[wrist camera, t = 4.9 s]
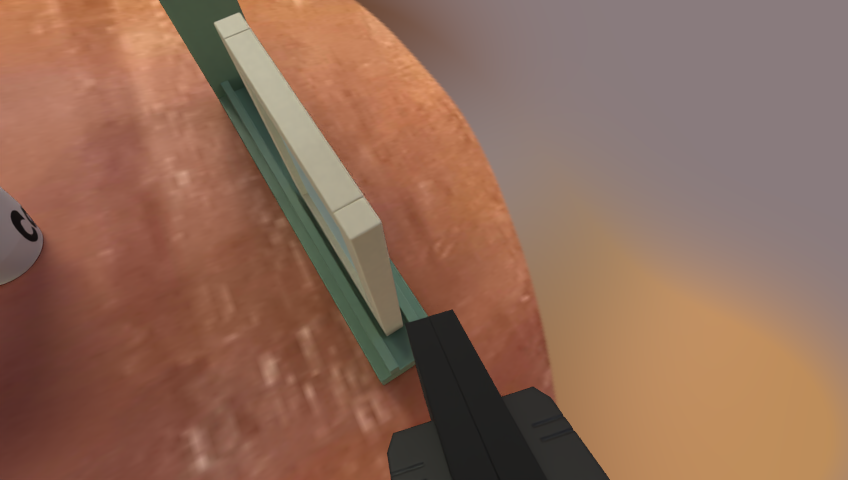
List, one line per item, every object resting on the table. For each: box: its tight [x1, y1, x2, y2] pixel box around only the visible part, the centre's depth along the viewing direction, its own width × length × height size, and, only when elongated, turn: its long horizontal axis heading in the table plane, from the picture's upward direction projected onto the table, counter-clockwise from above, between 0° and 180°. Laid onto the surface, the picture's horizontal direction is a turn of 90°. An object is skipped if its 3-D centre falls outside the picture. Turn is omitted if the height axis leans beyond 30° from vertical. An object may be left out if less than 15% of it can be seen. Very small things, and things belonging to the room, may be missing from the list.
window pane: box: [214, 13, 403, 336], centre depth 22 cm, size 12×1×13 cm, turn 33°
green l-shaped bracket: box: [159, 0, 428, 385], centre depth 24 cm, size 27×4×17 cm, turn 33°
